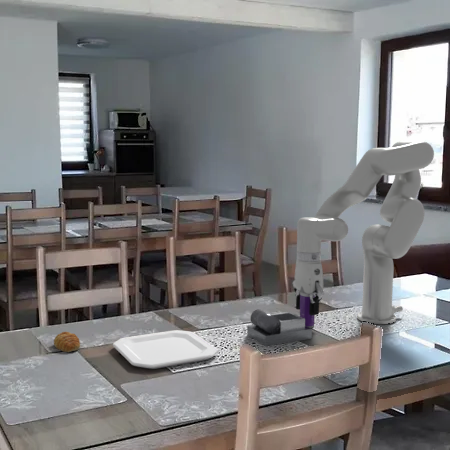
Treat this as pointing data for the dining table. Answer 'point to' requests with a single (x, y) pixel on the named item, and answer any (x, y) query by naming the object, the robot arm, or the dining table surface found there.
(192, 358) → the plate
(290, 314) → the block
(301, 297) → the container
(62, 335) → the pastry
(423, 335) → the dining table surface
